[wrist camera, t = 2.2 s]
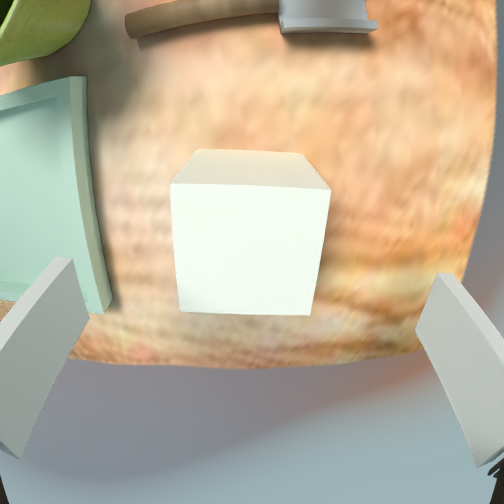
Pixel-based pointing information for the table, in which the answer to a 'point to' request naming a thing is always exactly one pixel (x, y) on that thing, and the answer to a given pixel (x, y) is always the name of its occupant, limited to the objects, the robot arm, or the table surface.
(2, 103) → the tray
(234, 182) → the block
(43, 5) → the plant pot
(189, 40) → the table surface
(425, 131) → the table surface
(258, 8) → the scoop
